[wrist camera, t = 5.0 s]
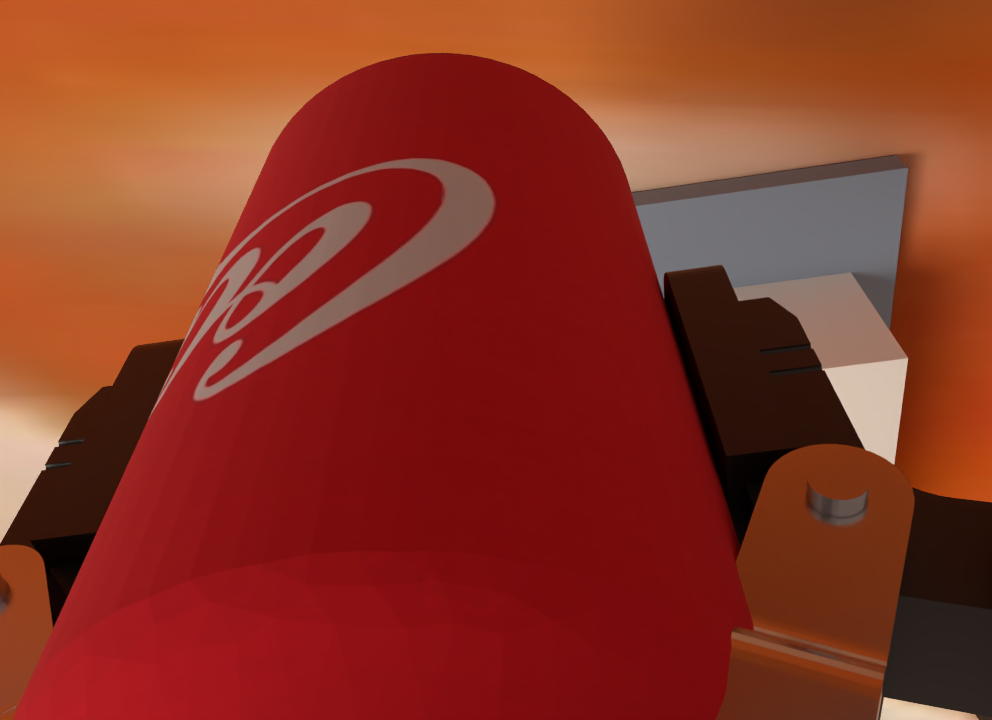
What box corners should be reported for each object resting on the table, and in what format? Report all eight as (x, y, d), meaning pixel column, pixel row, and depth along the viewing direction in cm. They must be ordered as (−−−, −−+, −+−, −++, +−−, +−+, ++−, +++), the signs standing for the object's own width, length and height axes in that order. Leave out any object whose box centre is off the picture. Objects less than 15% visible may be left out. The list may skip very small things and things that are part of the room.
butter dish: (402, 225, 30) (386, 323, 25) (896, 155, 29) (980, 243, 24) (479, 557, 39) (478, 677, 34) (858, 514, 38) (913, 632, 33)
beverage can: (217, 62, 14) (-372, 876, 4) (621, 12, 14) (972, 774, 4) (312, 383, 18) (110, 1218, 8) (634, 349, 17) (832, 1180, 8)
